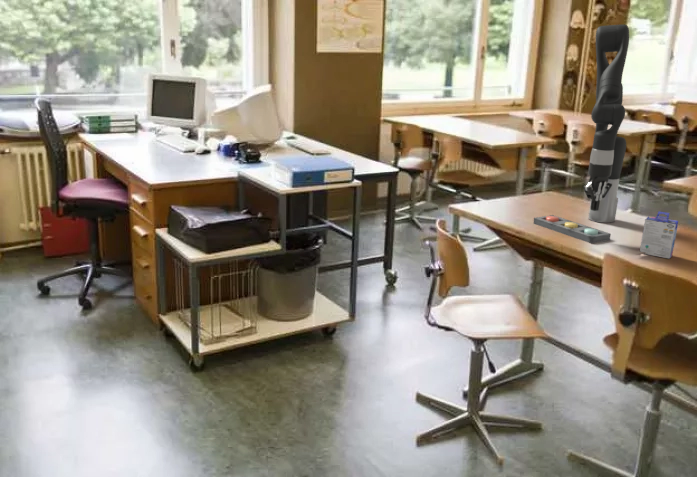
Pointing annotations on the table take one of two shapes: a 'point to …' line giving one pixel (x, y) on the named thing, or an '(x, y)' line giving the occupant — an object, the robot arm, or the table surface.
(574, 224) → the ochre button
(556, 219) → the red button
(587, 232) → the teal button
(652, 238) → the ink cartridge box
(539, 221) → the button panel
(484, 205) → the table surface
